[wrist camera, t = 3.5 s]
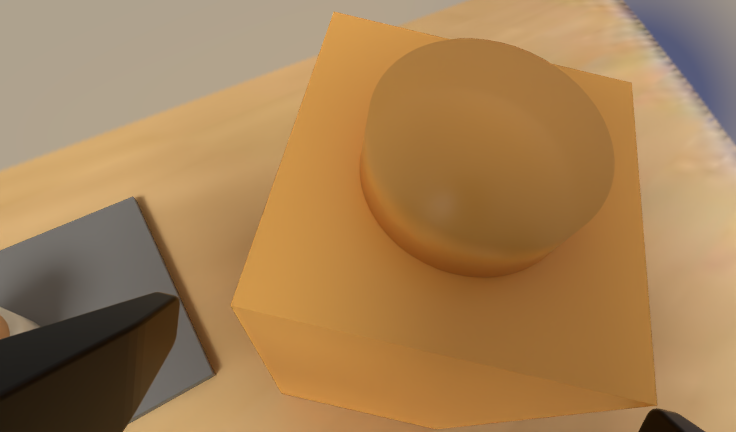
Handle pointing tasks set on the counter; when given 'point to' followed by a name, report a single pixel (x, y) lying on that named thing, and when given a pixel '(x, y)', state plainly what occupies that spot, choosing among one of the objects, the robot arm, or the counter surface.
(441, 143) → the orange toy brick
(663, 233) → the counter surface
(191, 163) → the counter surface
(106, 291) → the plate
